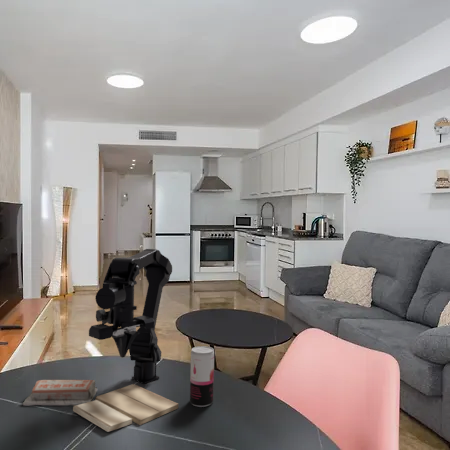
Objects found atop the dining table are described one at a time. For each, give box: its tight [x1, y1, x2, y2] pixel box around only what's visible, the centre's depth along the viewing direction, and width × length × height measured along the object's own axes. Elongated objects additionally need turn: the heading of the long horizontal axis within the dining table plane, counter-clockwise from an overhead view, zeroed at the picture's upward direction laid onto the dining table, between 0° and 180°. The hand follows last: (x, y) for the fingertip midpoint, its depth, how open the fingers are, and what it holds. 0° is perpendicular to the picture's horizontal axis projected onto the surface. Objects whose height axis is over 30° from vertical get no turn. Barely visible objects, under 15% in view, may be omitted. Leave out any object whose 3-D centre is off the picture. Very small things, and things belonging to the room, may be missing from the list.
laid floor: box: [95, 383, 180, 426], centre depth 117 cm, size 13×20×1 cm, turn 49°
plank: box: [72, 399, 133, 433], centre depth 108 cm, size 7×16×1 cm, turn 49°
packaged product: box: [22, 379, 98, 406], centre depth 120 cm, size 18×5×10 cm
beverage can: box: [189, 345, 215, 408], centre depth 119 cm, size 6×6×15 cm
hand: (122, 356), depth 120 cm, fingers closed
